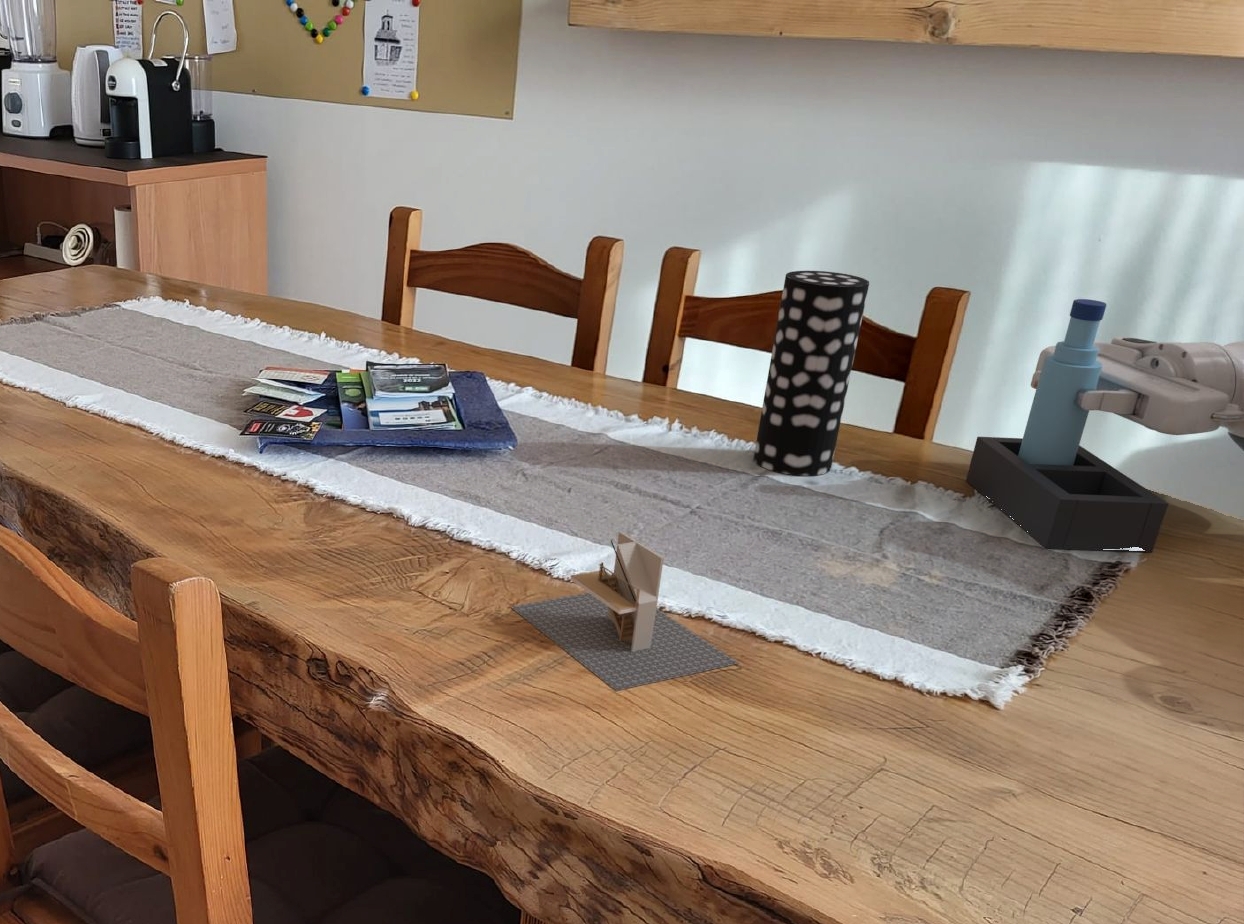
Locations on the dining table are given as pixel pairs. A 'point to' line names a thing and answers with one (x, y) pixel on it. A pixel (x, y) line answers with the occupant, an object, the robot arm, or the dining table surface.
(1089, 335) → the bottle
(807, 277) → the spotted tube
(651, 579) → the architectural model
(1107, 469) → the holder
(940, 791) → the dining table surface
